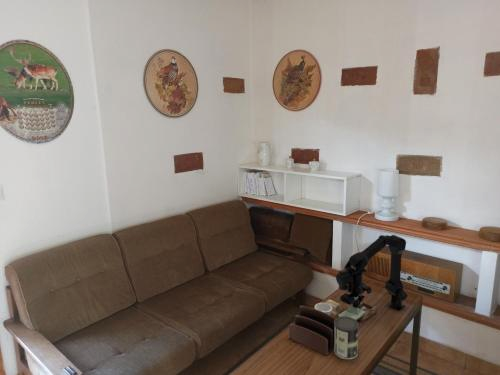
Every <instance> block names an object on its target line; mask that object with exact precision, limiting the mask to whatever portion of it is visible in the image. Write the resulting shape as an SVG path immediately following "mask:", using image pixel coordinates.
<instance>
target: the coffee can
mask: <svg viewBox="0 0 500 375" xmlns="http://www.w3.org/2000/svg"><path fill="white" fill-rule="evenodd" d="M335 318H336V317H335ZM359 328H360V323H359V322H358V320H355V319H353V318H350V317H338V316H337V318H336V319H335V321H334V349H333V353H334V354H335V356H337V357H338V358H340V359H343V360H346V361H347V360H353V359H356V358H357V357H358V356H359V355H358V354H359V350H358V349H359Z"/></svg>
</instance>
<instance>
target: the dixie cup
mask: <svg viewBox="0 0 500 375" xmlns="http://www.w3.org/2000/svg"><path fill="white" fill-rule="evenodd" d="M314 309H316V310H319V311H322V312H324V313H326V314H329V315H331V316H332V313H331V310H332V306H331V305H329V304H327V303H325V302H319V303H316V304H315V305H314Z"/></svg>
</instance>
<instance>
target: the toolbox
mask: <svg viewBox="0 0 500 375" xmlns="http://www.w3.org/2000/svg"><path fill="white" fill-rule="evenodd" d="M363 300H364V299H363ZM363 300H362V302H361V303H360V305H359V307H358V308H359V309H361V310H363V311H365V312H366V313H364V314H363V316H361V317H360V318H358V319H357V321H358V320H359V321H360V322H362V323H363V322H364V321H366V320H367V319H369V318H371V317H372V316H373V315H375V314H376V313H377V309H378V305H372V304H369V303H368V302H365V301H363ZM351 306H353V304H351Z"/></svg>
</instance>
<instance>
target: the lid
mask: <svg viewBox="0 0 500 375" xmlns="http://www.w3.org/2000/svg"><path fill="white" fill-rule="evenodd" d="M351 305H352V304H351ZM351 305H348V304H347V309H345V310H344V311H343V312H340V313H338V314H337V318H338V317H350V318H353V319H355V320H356V321H358V318H360V317H361V316H363V314H364V313H366V312H365V311H363V310H361V309H359V308H356V307H353V306H351Z"/></svg>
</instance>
